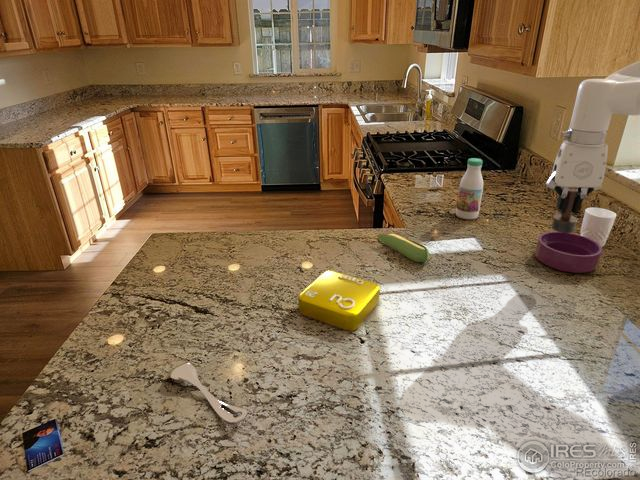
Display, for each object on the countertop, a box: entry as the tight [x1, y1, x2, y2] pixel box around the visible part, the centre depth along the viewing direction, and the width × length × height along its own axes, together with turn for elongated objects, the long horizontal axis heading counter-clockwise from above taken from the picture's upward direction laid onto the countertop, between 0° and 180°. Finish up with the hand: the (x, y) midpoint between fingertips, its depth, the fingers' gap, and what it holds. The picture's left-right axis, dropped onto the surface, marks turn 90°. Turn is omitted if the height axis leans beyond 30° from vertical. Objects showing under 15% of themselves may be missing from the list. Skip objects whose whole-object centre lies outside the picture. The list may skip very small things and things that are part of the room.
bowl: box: [534, 230, 603, 274], centre depth 118 cm, size 15×15×6 cm
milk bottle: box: [455, 157, 484, 220], centre depth 144 cm, size 8×8×20 cm
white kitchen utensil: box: [168, 361, 248, 424], centre depth 74 cm, size 20×4×5 cm
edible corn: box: [376, 232, 431, 263], centre depth 123 cm, size 5×20×5 cm, turn 35°
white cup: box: [579, 207, 617, 248], centre depth 127 cm, size 8×8×10 cm
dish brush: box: [551, 188, 579, 233], centre depth 105 cm, size 5×5×10 cm
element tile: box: [298, 270, 381, 332], centre depth 99 cm, size 15×15×5 cm
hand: (567, 211), depth 105 cm, fingers closed on dish brush
